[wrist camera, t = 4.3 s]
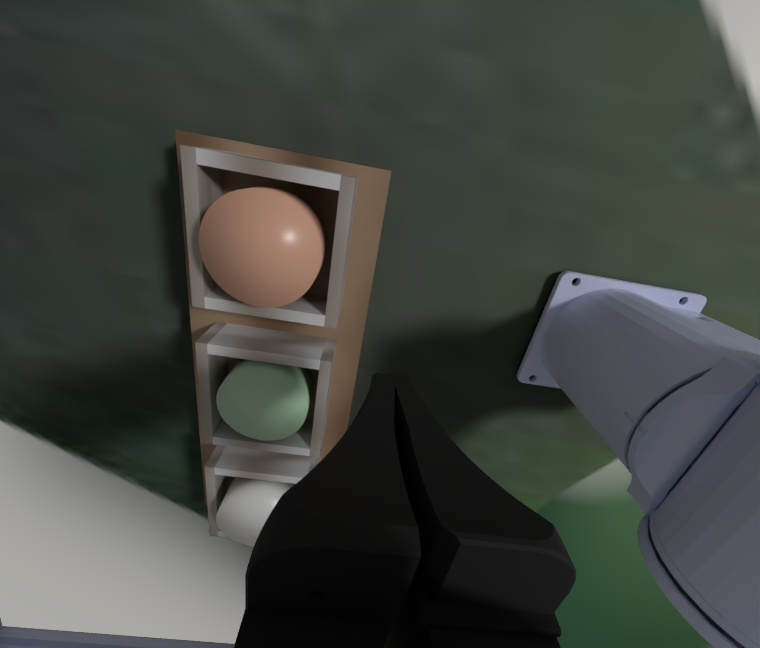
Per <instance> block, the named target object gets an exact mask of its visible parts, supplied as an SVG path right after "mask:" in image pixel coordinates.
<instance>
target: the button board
mask: <svg viewBox="0 0 760 648" xmlns="http://www.w3.org/2000/svg"><path fill="white" fill-rule="evenodd" d="M175 136H176V148H177V161H178V173H179V185H180V198H181V210H182V223H183V235H184V248H185V260H186V272H187V285H188V297H189V310H190V322H191V335H192V347H193V359H194V372H195V384H196V397H197V409H198V422H199V434H200V447H201V459H202V471H203V484H204V496H205V506H208V519H209V532H210V536H218V537H227V536H226V535H224V534H223V533H222V532H221V530H220V529H219V527H218V526H217V523H216V514H217V512H218V510H219V507H220V505H221V503H222V501H223V499H224V497H225V495H226V493H227V490H228V488H229V486H230V484H231V482H232V481H233V480H234V479H235V478H236V477H241V478H250V479H258V480H267V481H276V482H284V483H293V484H294V485H295V484H296V483H297V482H299V481H300V480H301V479H302V478H303V477H305V476H306V475H307V474H308V473H309V472H310V471H311V470H312V469H313V468H314V467H315V466H316V465H317V464H318V463H319V462H320V461H321V460H322V459H323V458H324V457H325V456H326V455H327V454H328V453H329V452H330V451H331V450H332V448H333V447H334V446H335V445H336V444H337V443H338V441H339V440H340V439H341V438H342V436H343V435H344V434H345V432H346V431H347V427H348V421H349V416H350V410H351V404H352V398H353V392H354V387H355V381H356V375H357V369H358V363H359V357H360V352H361V346H362V340H363V334H364V328H365V323H366V317H367V311H368V305H369V299H370V293H371V288H372V282H373V276H374V270H375V264H376V259H377V253H378V247H379V241H380V235H381V230H382V224H383V218H384V212H385V206H386V200H387V195H388V189H389V183H390V177H391V171H389V170H384V169H378V168H373V167H368V166H363V165H358V164H353V163H347V162H342V161H337V160H332V159H327V158H321V157H316V156H311V155H306V154H301V153H296V152H290V151H285V150H280V149H275V148H270V147H265V146H259V145H254V144H249V143H244V142H239V141H233V140H228V139H223V138H218V137H213V136H208V135H202V134H197V133H192V132H187V131H181V130H176V129H175ZM259 186H273V187H278V188H282V189H285V190H288V191H290V192H292V193H294V194H296V195H297V196H299V197H300V198H301V199H303V200H304V201H305V202H306V203H307V204H308V205H309V206H310V207H311V208H312V209H313V210H314V212H315V213H316V215H317V216H318V218H319V220H320V222H321V224H322V226H323V229H324V233H325V237H326V255H325V260H324V263H323V266H322V268H321V270H320V272H319V273H318V275H317V277H316V279H315V280H314V282H313V284H312V285H311V287H310V288H309V289H308V291H307V292H306V293H305V294H304V295H303V296H301V297H300V298H299V299H297V300H296V301H294V302H292V303H289V304H287V305H284V306H280V307H270V308H265V307H257V306H253V305H249V304H246V303H244V302H241V301H239V300H237V299H236V298H234V297H232V296H231V295H229V294H228V293H227V292H225V291H224V290H223V289H222V288H221V287H220V286H219V285H218V284H217V283H216V282H215V281H214V280H213V278H212V277H211V275H210V274H209V272H208V270H207V269H206V267H205V265H204V262H203V260H202V256H201V253H200V247H199V231H200V226H201V222H202V219H203V217H204V215H205V213H206V211H207V210H208V209H209V207H210V206H211V205H212V204H213V203H214V202H215V201H216V200H217V199H219V198H220V197H221V196H223V195H225V194H227V193H229V192H232V191H235V190H240V189H246V188H252V187H259ZM240 359H247V360H254V361H261V362H268V363H275V364H282V365H289V366H296V367H303V368H306V369H307V371H308V372H309V374H310V376H311V379H312V382H313V395H312V398H311V402H310V405H309V409H308V412H307V416H306V419H305V421H304V423H303V425H302V426H301V428H300V429H299V430H298V431H296V432H295V433H294V434H292V435H290V436H288V437H286V438H283V439H279V440H270V441H266V440H258V439H253V438H250V437H247V436H244V435H242V434H240V433H239V432H237V431H235V430H234V429H233V428H231V427H230V426H229V425H228V424H227V423H226V422H225V421H224V420H223V418H222V417H221V415H220V413H219V411H218V408H217V402H216V396H217V392H218V389H219V387H220V385H221V384H222V382H223V381H224V380H225V378H226V377H227V376H228V374H229V373H230V371H231V370H232V369H233V367H234V366H235V365H236V363H237V362H238V361H239V360H240Z"/></svg>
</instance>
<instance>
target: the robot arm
mask: <svg viewBox="0 0 760 648" xmlns="http://www.w3.org/2000/svg"><path fill="white" fill-rule="evenodd" d="M575 278H577V281H576V282H575V283H574V284H572V281H573V279H575ZM681 298H682V300H681V301H680V302H679V300H680V299H681ZM705 304H706V297H705V296H702V295H700V294H696V293H690V292H685V291H679V290H673V289H668V288H662V287H656V286H651V285H645V284H639V283H634V282H628V281H622V280H617V279H611V278H605V277H600V276H594V275H588V274H583V273H577V272H571V271H564V272H562V273H561V274H560V275H559V276H558V278H557V280H556V282H555V285H554V287H553V289H552V292H551V294H550V296H549V299H548V301H547V304H546V306H545V308H544V311H543V313H542V315H541V318H540V320H539V323H538V325H537V327H536V330H535V332H534V334H533V337H532V339H531V342H530V344H529V346H528V349H527V351H526V353H525V356H524V358H523V360H522V363H521V365H520V368H519V370H518V372H517V378H518V380H519V381H520V382H522V383H526V384H533V385H540V386H547V387H554V388H560V389H562V390H563V391H564V393H565V394H566V395H567V396H568V398H569V399H570V400H571V401H572V402H573V404H574V405H575V406H576V407H577V408H578V410H579V411H580V412H581V413H582V414H583V416H584V417H585V418H586V419H587V421H588V422H589V423H590V424H591V425H592V427H593V428H594V429H595V430H596V431H597V433H598V434H599V435H600V436H601V438H602V439H603V440H604V441H605V442H606V444H607V445H608V446H609V447H610V448H611V450H612V451H613V452H614V453H615V454H616V456H617V457H618V458H619V459H620V461H621V462H622V463H623V464H624V465H625V466H626V468H627V469H628V470H629V471H630V473H631V474H632V480H631V483H630V485H629V487H628V489H627V491H628V492H629V494H630V495H631V496H632V497H633V499H634V500H635V501H636V503H637V504H638V505H639V507H640V508H641V509H642V510H643V512H644V513H645V514H646V515H645V516H644V517H643V518H642V520H641V521H640V523H639V527H638V532H637V534H638V543H639V547H640V550H641V554H642V555H643V558H644V560H645V563H646V565H647V567H648V569H649V570H650V572H651V574H652V575H653V577H654V579H655V581H656V582H657V584H658V585H659V586H660V588H661V589H662V591H663V592H664V593H665V595H666V596H667V598H668V599H669V600H670V601H671V603H672V604H673V605H674V606H675V608H676V609H677V610H678V611H679V612H680V614H681V615H682V616H683V617H684V618H685V619H686V620H687V621H688V622H689V623H690V624H691V625H692V626H693V628H694V629H696V631H697V632H698V633H699V634H700V635H701V636H703V637H704V638H705V639H706V640H707V641H708V642H709V643H710V644H711V645H712V646H713V647H714V648H760V340H758V339H756V338H754V337H752V336H749V335H747V334H745V333H743V332H741V331H738V330H736V329H734V328H732V327H730V326H727V325H725V324H723V323H721V322H719V321H716V320H714V319H712V318H710V317H707V316H705V315H703V314H701V313H700V312H701V310H702V309H703V307H704V306H705ZM532 375H534V376H533V377H532V378H529V377H530V376H532ZM575 580H576V570H575V567H574V565H573V563H572V561H571V559H570V557H569V555H568V552H567V550H566V548H565V546H564V544H563V542H562V540H561V538H560V536H559V534H558V533H557V531H556V529H555V527H554V525H553V524H552V523H550V522H549V521H547V520H546V519H544V518H543V517H541V516H540V515H539V514H537V513H536V512H534V511H533V510H531V509H530V508H528V507H527V506H526V505H524V504H523V503H521V502H520V501H518V500H517V499H516V498H514V497H513V496H512V495H511V494H509V493H508V492H507V491H506V490H504V489H503V488H502V487H500V486H499V485H498V484H497V483H496V482H494V481H493V480H492V479H491V478H490V477H489V476H487V475H486V474H485V473H484V472H483V471H482V470H481V469H480V468H479V467H478V466H476V465H475V464H474V463H473V462H472V461H471V460H470V459H469V458H468V457H467V456H466V455H465V454H464V453H463V452H462V451H461V450H460V448H459V447H458V446H457V445H456V444H455V443H454V442H453V441H452V440H451V439H450V437H449V436H448V435H447V434H446V433H445V431H444V430H443V429H442V427H441V426H440V425H439V424H438V422H437V421H436V419H435V418H434V417H433V415H432V414H431V412H430V411H429V409H428V408H427V406H426V405H425V403H424V402H423V400H422V399H421V397H420V395H419V394H418V392H417V390H416V389H415V387H414V385H413V384H412V382H411V380H410V379H409V378H408V377H402V376H395V375H388V374H381V373H375V374H373V375H372V380H371V385H370V390H369V393H368V395H367V397H366V399H365V401H364V403H363V405H362V407H361V409H360V411H359V412H358V414H357V416H356V417H355V419H354V421H353V422H352V424H351V425H350V427H349V428H348V430H347V431H346V432H345V434H344V435H343V436H342V438H341V439H340V440H339V441H338V443H337V444H336V445H335V446H334V447H333V448H332V450H331V451H330V452H329V453H328V454H327V455H326V456H325V457H324V458H323V459H322V460H321V461H320V462H319V463H318V464H317V465H316V466H315V467H314V468H313V469H312V470H311V471H310V472H309V473H308V474H307V475H306V476H305V477H303V478H302V479H301V480H300V481H299V482H297V483H296V484H295V485H294V486H292V487H291V488H290V489H289V490H287V491H286V492H285V493H284V494H283V495H282V496H281V498H280V499H279V501H278V502H277V504H276V505H275V507H274V508H273V510H272V512H271V513H270V515H269V517H268V518H267V520H266V522H265V524H264V526H263V527H262V529H261V531H260V534H259V536H258V538H257V540H256V542H255V545H254V548H253V551H252V555H251V557H250V561H249V564H248V567H247V571H246V609H245V613H244V616H243V619H242V622H241V626H240V629H239V632H238V636H237V639H236V642H235V644H227V643H214V642H200V641H188V640H174V639H162V638H149V637H136V636H135V637H134V636H123V635H122V636H121V635H109V634H97V633H84V632H71V631H58V630H44V629H32V628H18V627H6V626H2V623H1V619H0V648H560V645H559V643H558V640H557V637H559V636H560V635H561V629H560V626H559V623H558V621H557V619H556V616H555V613H554V612H555V610H556V609H557V608H558V606H559V605H560V604H561V602H562V601H563V600H564V599H565V597H566V596H567V595H568V593H569V592H570V590H571V588H572V586H573V585H574V582H575Z"/></svg>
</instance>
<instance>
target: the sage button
mask: <svg viewBox="0 0 760 648" xmlns="http://www.w3.org/2000/svg"><path fill="white" fill-rule="evenodd" d="M312 395H313V382H312V379H311V376H310V374H309V372H308V371H307V369H306V368H303V367H296V366H289V365H282V364H275V363H268V362H261V361H254V360H247V359H240V360H239V361H238V362H237V363H236V365H235V366H234V367H233V369H232V370H231V371H230V373H229V374H228V376H227V377H226V378H225V380H224V381H223V382H222V384H221V385H220V387H219V389H218V392H217V396H216V402H217V408H218V411H219V413H220V415H221V417H222V418H223V420H224V421H225V422H226V423H227V424H228V425H229V426H230V427H231V428H233V429H234V430H235V431H237V432H239V433H240V434H242V435H244V436H247V437H250V438H253V439H258V440H266V441H270V440H279V439H283V438H286V437H288V436H290V435H292V434H294V433H295V432H296V431H298V430H299V429H300V428H301V426H302V425H303V423H304V421H305V419H306V416H307V412H308V409H309V405H310V402H311V398H312Z"/></svg>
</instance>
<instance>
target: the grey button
mask: <svg viewBox="0 0 760 648" xmlns="http://www.w3.org/2000/svg"><path fill="white" fill-rule="evenodd" d="M292 486H294V484H293V483H284V482H276V481H267V480H258V479H250V478H241V477H236V478H235V479H234V480H233V481H232V482H231V484H230V486H229V488H228V490H227V493H226V495H225V497H224V499H223V501H222V503H221V505H220V507H219V510H218V512H217V514H216V523H217V526H218V527H219V529H220V530H221V532H222V533H223V534H224V535H226V536H227V537H228V538H230V539H231V540H233V541H235V542H238V543H240V544H244V545H247V546H253V547H254V545H255V542H256V540H257V538H258V536H259V534H260V531H261V529H262V527H263V526H264V524H265V522H266V520H267V518H268V517H269V515H270V513H271V512H272V510H273V508H274V507H275V505H276V504H277V502H278V501H279V499H280V498H281V496H282V495H283V494H284V493H285V492H286V491H287V490H289V489H290V488H291V487H292Z"/></svg>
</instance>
